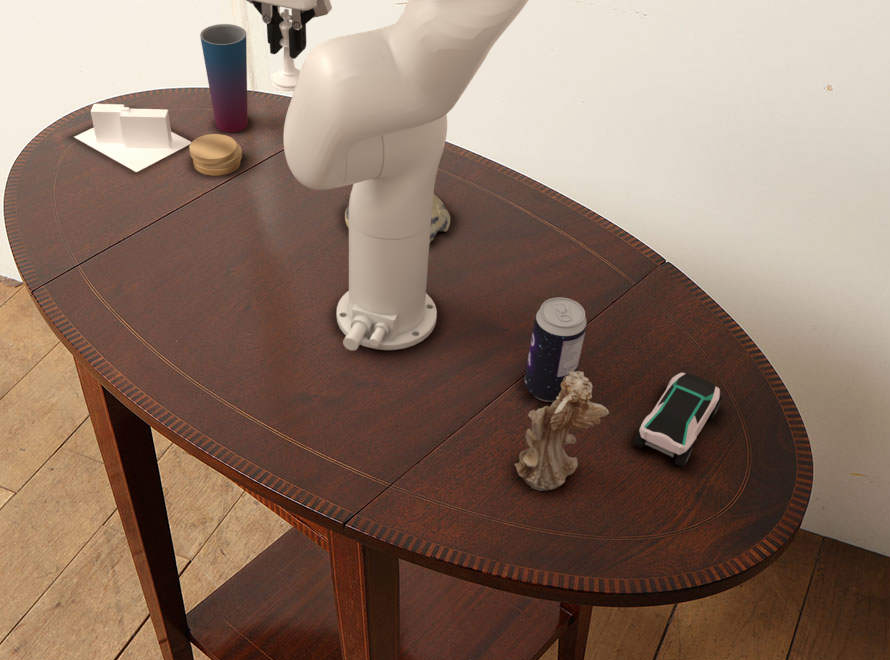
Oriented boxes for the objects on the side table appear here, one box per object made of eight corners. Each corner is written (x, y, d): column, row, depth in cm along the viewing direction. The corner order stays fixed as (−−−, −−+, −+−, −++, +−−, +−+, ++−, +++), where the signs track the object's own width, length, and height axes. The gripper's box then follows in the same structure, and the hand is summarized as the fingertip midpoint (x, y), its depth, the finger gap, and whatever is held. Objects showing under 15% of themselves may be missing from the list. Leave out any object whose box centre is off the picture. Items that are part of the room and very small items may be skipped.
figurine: (566, 448, 109) (590, 349, 99) (589, 489, 105) (616, 390, 95) (504, 461, 108) (521, 362, 97) (525, 503, 104) (545, 404, 93)
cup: (234, 140, 154) (226, 48, 143) (201, 127, 156) (190, 36, 146) (262, 121, 158) (255, 31, 147) (228, 109, 160) (220, 19, 150)
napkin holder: (193, 142, 153) (189, 108, 149) (137, 172, 146) (131, 138, 142) (129, 109, 159) (123, 76, 155) (72, 137, 153) (65, 104, 149)
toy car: (629, 451, 109) (639, 418, 106) (670, 388, 117) (681, 355, 113) (679, 474, 107) (691, 441, 103) (718, 409, 114) (731, 376, 111)
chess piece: (290, 95, 130) (287, 22, 123) (263, 82, 132) (258, 10, 125) (315, 81, 133) (313, 9, 126) (287, 69, 135) (284, -3, 128)
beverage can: (563, 370, 118) (579, 292, 110) (577, 403, 114) (596, 325, 106) (517, 375, 118) (530, 297, 109) (530, 408, 114) (545, 331, 105)
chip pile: (228, 181, 145) (226, 163, 143) (183, 170, 147) (180, 152, 145) (250, 155, 150) (248, 138, 148) (206, 145, 152) (204, 128, 150)
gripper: (205, -96, 116) (219, 52, 129) (330, -73, 112) (332, 77, 125) (235, -116, 121) (245, 28, 134) (355, -95, 117) (354, 51, 130)
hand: (287, 50), depth 129 cm, fingers closed on chess piece
